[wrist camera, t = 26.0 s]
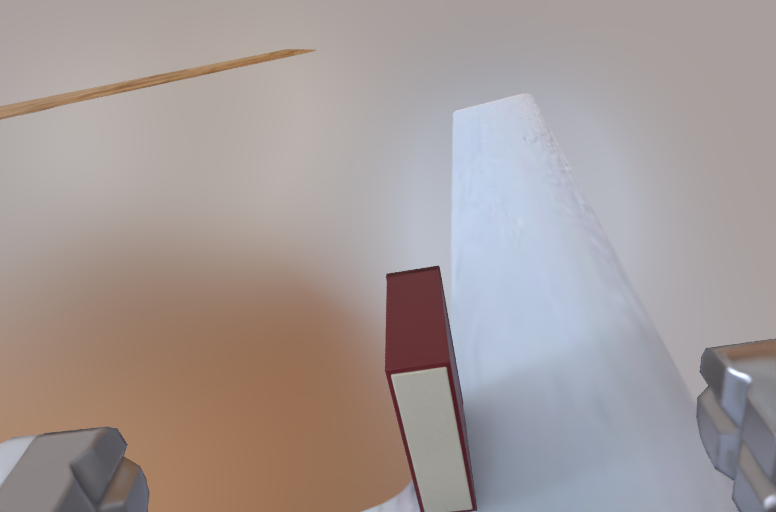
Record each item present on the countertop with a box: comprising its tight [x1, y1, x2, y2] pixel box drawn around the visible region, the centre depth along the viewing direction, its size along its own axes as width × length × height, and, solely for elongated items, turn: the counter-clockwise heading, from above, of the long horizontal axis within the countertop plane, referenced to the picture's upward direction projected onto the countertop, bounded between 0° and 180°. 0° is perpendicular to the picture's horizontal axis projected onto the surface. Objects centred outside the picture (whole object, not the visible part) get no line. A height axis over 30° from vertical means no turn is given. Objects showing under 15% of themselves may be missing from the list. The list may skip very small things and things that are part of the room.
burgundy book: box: [385, 266, 477, 512], centre depth 45 cm, size 4×11×14 cm, turn 179°
